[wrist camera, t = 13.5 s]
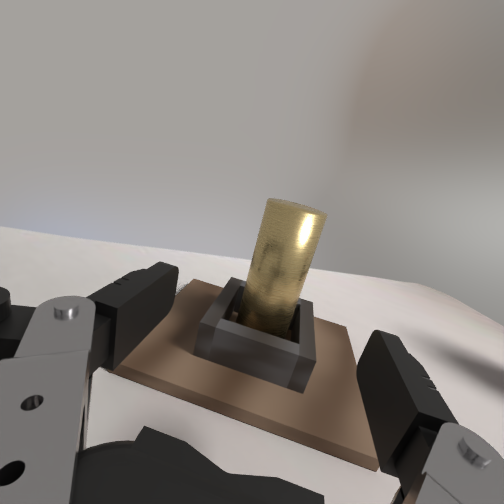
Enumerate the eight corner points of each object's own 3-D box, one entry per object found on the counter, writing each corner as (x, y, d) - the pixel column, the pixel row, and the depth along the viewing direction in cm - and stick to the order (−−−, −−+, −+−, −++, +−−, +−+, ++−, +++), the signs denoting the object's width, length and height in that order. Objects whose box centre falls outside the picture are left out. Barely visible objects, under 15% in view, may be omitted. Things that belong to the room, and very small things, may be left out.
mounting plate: (107, 371, 17) (110, 322, 16) (192, 286, 30) (198, 255, 29) (376, 471, 15) (404, 425, 14) (342, 334, 28) (356, 303, 27)
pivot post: (226, 348, 21) (263, 201, 17) (239, 319, 25) (271, 196, 21) (278, 366, 20) (329, 220, 16) (283, 333, 24) (325, 210, 20)
